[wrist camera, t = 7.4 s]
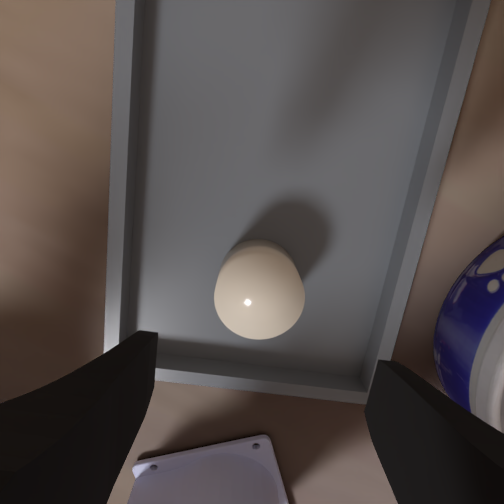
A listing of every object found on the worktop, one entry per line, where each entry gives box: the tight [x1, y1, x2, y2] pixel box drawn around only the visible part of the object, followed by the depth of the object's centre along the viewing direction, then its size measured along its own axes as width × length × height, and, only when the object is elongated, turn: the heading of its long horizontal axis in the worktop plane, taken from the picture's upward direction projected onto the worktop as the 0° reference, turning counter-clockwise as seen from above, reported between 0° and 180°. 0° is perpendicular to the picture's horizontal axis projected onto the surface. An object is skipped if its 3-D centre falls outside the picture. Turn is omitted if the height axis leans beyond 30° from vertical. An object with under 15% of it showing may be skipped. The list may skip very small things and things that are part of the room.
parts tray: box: [104, 0, 491, 405], centre depth 19 cm, size 24×16×2 cm, turn 172°
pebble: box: [214, 239, 305, 340], centre depth 19 cm, size 4×4×3 cm
